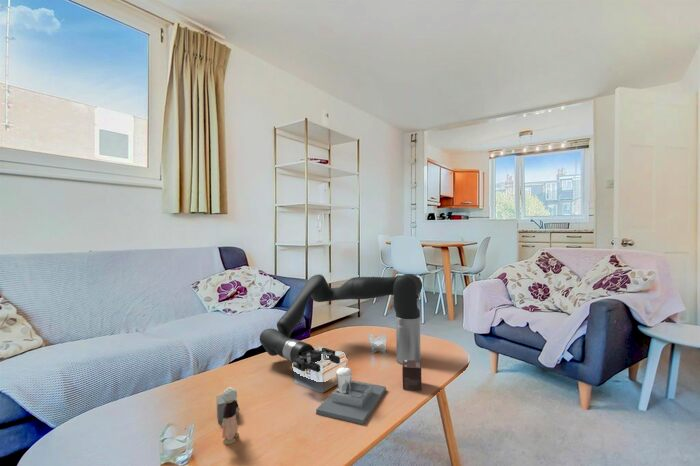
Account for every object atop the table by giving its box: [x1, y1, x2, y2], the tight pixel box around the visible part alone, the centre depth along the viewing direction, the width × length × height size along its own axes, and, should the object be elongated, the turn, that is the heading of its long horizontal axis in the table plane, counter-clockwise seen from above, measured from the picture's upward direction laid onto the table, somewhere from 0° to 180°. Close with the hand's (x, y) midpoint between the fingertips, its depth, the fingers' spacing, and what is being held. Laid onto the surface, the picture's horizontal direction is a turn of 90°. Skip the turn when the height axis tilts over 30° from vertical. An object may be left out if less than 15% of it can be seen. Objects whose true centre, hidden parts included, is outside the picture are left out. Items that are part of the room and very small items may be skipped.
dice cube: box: [216, 394, 239, 424], centre depth 92 cm, size 5×5×5 cm
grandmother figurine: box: [221, 386, 241, 445], centre depth 81 cm, size 8×4×13 cm, turn 5°
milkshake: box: [335, 360, 353, 395], centre depth 98 cm, size 5×5×10 cm
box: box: [401, 360, 423, 391], centre depth 108 cm, size 6×6×7 cm
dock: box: [315, 379, 387, 426], centre depth 99 cm, size 20×14×4 cm
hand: (329, 364), depth 106 cm, fingers open, 8 cm apart
